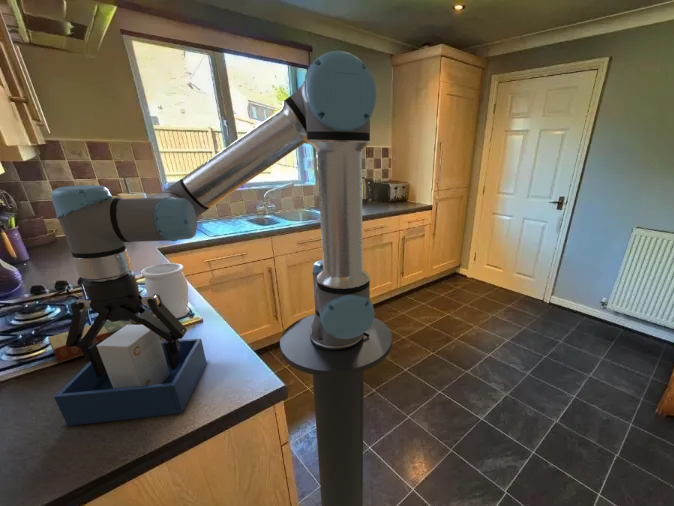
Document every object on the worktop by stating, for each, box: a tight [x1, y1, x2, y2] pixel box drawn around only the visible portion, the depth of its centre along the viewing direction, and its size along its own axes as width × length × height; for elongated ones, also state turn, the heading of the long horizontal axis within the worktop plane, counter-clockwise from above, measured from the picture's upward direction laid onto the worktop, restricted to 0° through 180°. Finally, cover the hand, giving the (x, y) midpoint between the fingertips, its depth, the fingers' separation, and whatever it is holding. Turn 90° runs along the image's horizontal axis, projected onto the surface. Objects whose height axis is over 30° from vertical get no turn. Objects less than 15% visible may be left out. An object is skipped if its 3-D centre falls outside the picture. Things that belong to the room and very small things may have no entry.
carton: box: [47, 320, 134, 364], centre depth 85 cm, size 8×16×4 cm, turn 140°
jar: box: [140, 262, 190, 319], centre depth 98 cm, size 11×10×15 cm
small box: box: [97, 324, 170, 389], centre depth 67 cm, size 8×6×13 cm
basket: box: [53, 338, 207, 427], centre depth 69 cm, size 20×17×7 cm
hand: (140, 369), depth 68 cm, fingers open, 13 cm apart
